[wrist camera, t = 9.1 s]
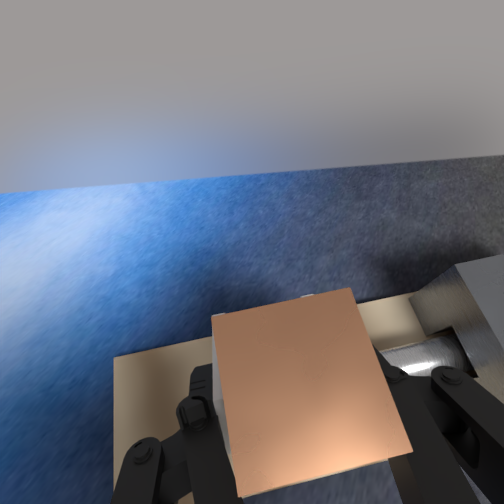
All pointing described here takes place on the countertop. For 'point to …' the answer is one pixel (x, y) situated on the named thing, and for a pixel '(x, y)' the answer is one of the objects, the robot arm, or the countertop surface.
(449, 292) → the bearing block
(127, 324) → the countertop surface
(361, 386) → the shaft
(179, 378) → the track base
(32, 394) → the countertop surface
